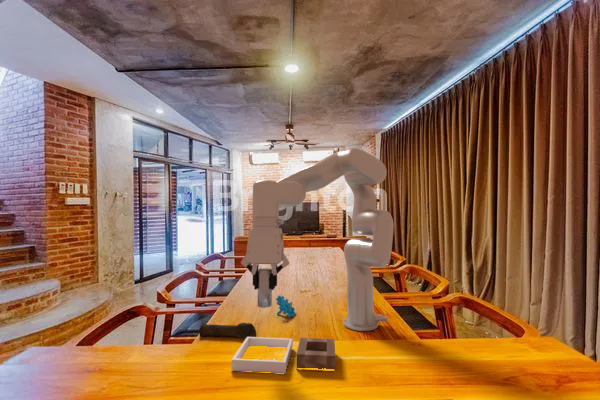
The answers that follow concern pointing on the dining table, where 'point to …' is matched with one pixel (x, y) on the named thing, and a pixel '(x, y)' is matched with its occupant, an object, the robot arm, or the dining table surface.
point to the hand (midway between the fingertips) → (264, 287)
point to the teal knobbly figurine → (285, 306)
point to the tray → (262, 365)
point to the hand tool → (228, 330)
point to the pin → (264, 287)
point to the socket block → (316, 353)
